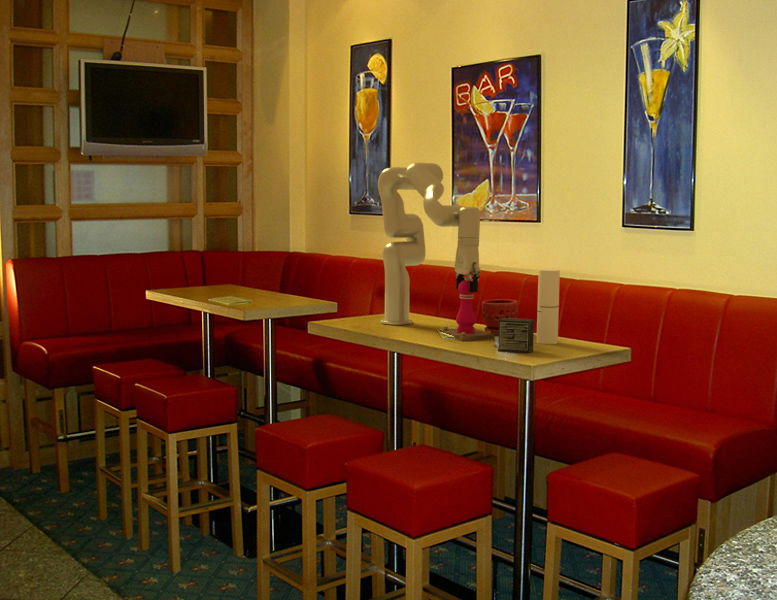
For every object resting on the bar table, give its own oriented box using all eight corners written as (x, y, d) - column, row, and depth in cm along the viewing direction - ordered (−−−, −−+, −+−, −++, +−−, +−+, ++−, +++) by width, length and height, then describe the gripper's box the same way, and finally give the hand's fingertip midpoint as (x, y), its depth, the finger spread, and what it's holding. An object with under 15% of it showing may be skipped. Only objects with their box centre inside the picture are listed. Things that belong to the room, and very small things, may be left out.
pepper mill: (474, 334, 330) (476, 277, 327) (454, 333, 331) (455, 276, 329) (477, 331, 337) (478, 275, 334) (457, 330, 338) (458, 274, 336)
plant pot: (507, 329, 350) (508, 298, 349) (523, 335, 338) (524, 302, 337) (475, 331, 346) (476, 299, 345) (490, 336, 334) (491, 303, 333)
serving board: (439, 333, 339) (439, 326, 338) (471, 332, 344) (471, 324, 344) (461, 341, 323) (461, 333, 323) (494, 339, 328) (494, 331, 328)
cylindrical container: (550, 344, 317) (552, 271, 314) (532, 342, 322) (534, 269, 319) (561, 342, 323) (563, 269, 320) (543, 340, 327) (545, 268, 324)
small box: (534, 350, 306) (534, 318, 305) (529, 353, 300) (530, 321, 299) (502, 348, 310) (503, 316, 308) (497, 351, 304) (498, 319, 302)
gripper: (447, 240, 336) (446, 287, 338) (470, 244, 320) (468, 293, 323) (466, 240, 339) (464, 287, 341) (489, 244, 323) (487, 293, 326)
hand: (466, 290), depth 332 cm, fingers open, 9 cm apart
